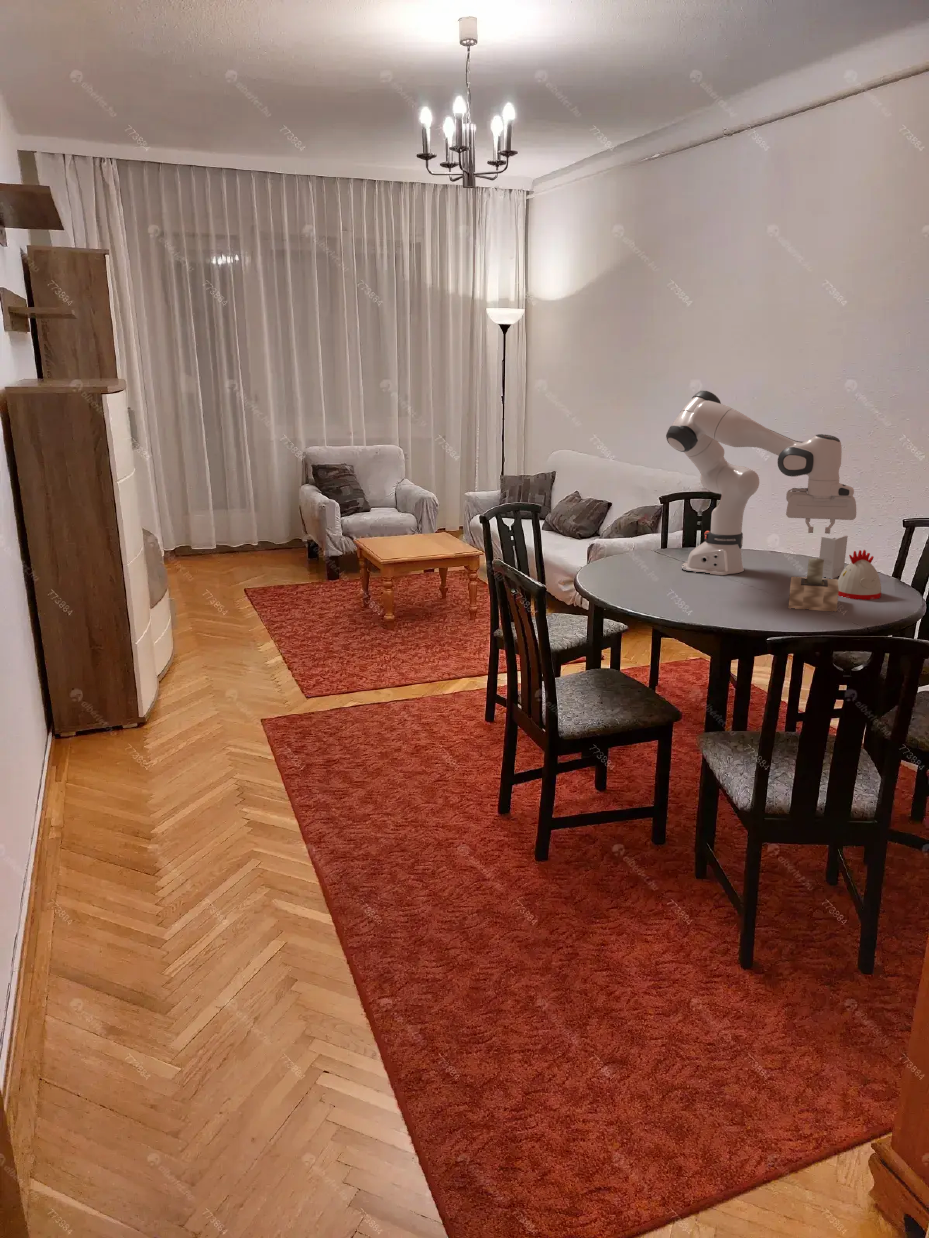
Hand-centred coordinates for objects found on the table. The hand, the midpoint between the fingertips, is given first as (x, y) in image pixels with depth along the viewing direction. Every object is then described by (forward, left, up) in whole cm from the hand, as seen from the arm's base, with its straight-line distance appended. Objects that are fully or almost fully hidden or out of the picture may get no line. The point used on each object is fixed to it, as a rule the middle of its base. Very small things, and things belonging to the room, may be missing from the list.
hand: (818, 533), depth 270 cm
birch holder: (0, 0, -23) cm, 23 cm away
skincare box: (+6, +41, -23) cm, 48 cm away
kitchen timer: (+14, +17, -23) cm, 32 cm away
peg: (0, 0, -19) cm, 19 cm away
